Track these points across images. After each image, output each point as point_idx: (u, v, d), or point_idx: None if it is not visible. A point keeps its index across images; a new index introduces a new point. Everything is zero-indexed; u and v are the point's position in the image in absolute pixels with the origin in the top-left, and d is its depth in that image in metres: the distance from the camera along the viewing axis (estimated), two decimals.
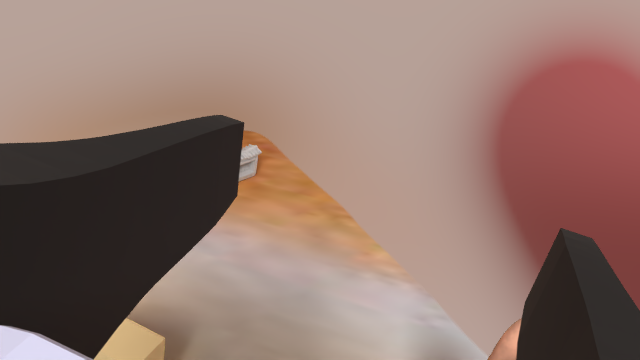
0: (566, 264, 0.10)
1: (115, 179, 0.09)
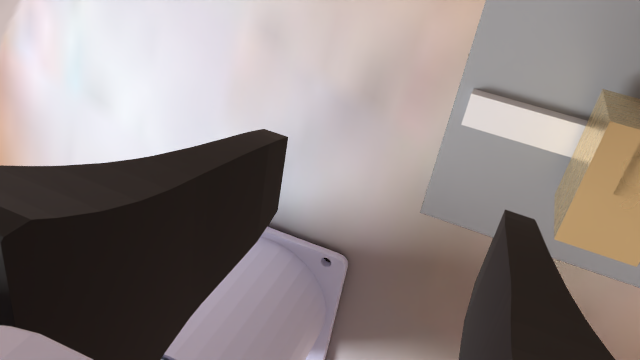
0: (503, 242, 0.10)
1: (173, 201, 0.09)
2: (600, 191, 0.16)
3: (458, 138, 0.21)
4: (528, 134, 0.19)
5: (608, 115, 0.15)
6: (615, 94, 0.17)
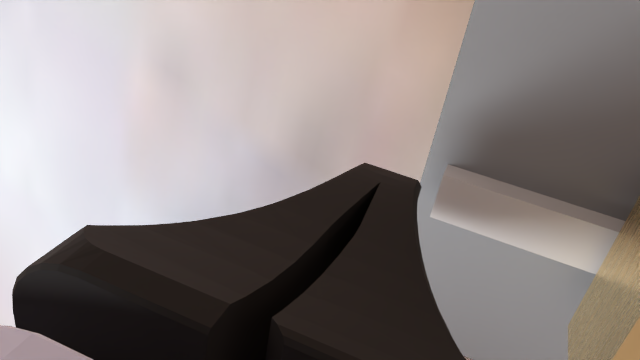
0: None
1: (313, 255, 0.08)
2: None
3: (428, 230, 0.14)
4: (529, 237, 0.13)
5: None
6: None
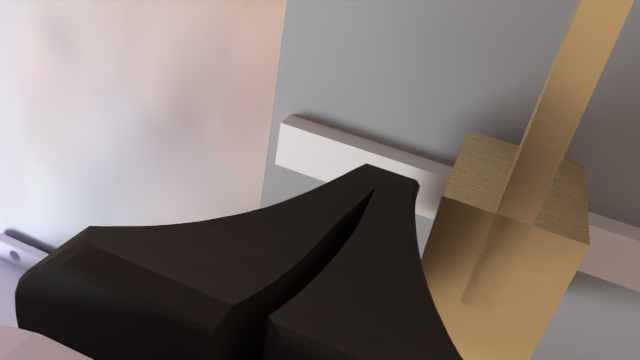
0: None
1: (315, 256, 0.08)
2: (442, 296, 0.10)
3: (282, 180, 0.15)
4: None
5: None
6: (484, 139, 0.11)
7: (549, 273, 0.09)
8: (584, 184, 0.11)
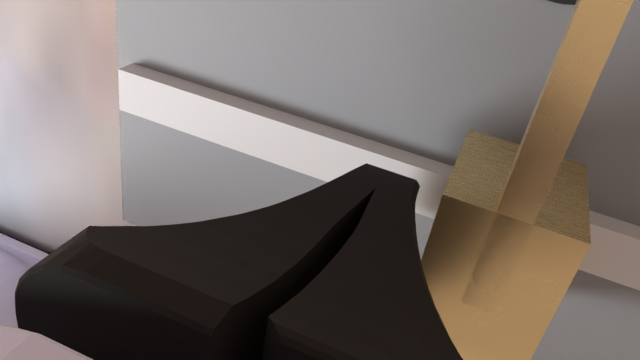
0: None
1: (315, 256, 0.08)
2: (443, 296, 0.10)
3: (135, 127, 0.16)
4: (189, 122, 0.15)
5: (448, 181, 0.10)
6: (485, 138, 0.11)
7: (550, 272, 0.09)
8: (585, 183, 0.10)
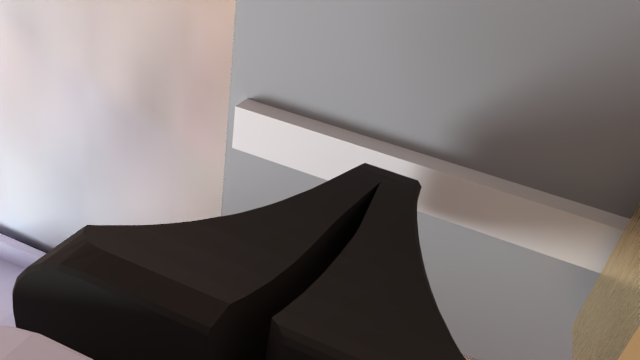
0: None
1: (313, 255, 0.08)
2: None
3: (242, 164, 0.15)
4: (312, 162, 0.14)
5: None
6: None
7: None
8: None
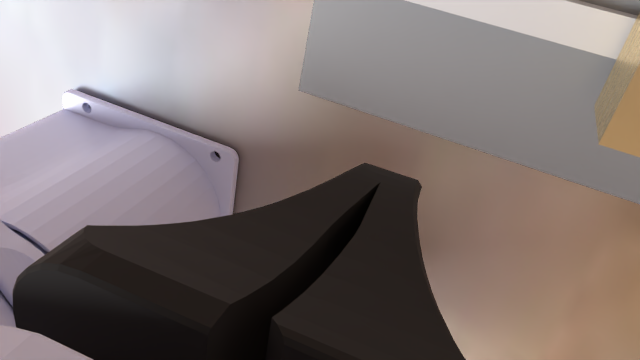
0: None
1: (313, 255, 0.08)
2: None
3: None
4: None
5: None
6: None
7: None
8: None
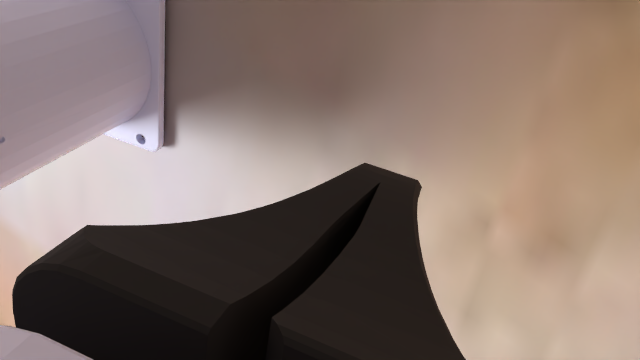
0: None
1: (313, 255, 0.08)
2: None
3: None
4: None
5: None
6: None
7: None
8: None
